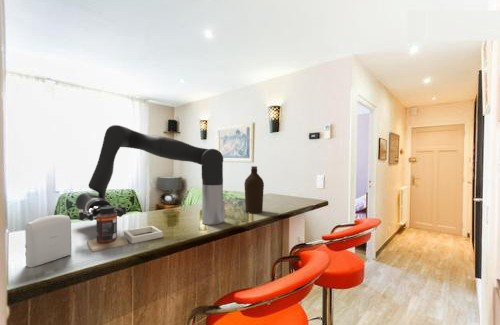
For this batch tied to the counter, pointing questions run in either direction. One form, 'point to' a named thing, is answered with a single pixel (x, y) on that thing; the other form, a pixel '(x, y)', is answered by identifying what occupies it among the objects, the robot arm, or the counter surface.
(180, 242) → the counter surface
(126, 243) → the pad
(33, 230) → the photo printer
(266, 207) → the counter surface
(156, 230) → the white square tray
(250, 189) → the olive oil
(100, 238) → the supplement bottle
